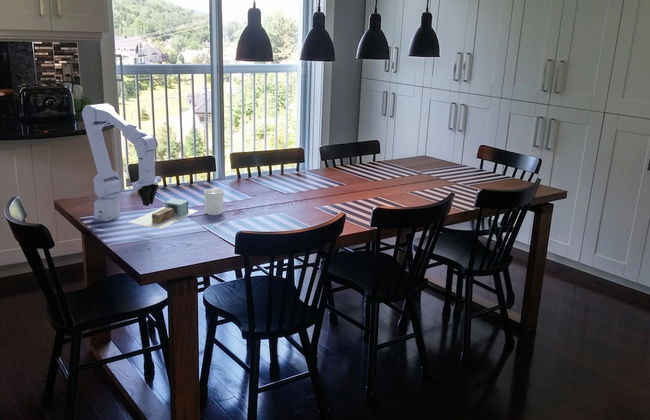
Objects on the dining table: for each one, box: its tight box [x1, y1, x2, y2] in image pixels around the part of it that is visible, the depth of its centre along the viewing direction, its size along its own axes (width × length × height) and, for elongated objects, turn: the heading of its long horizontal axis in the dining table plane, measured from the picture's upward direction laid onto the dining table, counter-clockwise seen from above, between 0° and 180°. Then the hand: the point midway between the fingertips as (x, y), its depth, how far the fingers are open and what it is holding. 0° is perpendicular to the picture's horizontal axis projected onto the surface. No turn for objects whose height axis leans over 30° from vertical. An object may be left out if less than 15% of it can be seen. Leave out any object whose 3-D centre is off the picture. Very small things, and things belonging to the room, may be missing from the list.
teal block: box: [164, 197, 189, 217], centre depth 242 cm, size 6×7×5 cm
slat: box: [152, 207, 174, 224], centre depth 234 cm, size 10×3×4 cm, turn 160°
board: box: [127, 206, 199, 230], centre depth 239 cm, size 26×15×1 cm, turn 160°
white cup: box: [203, 187, 225, 216], centre depth 246 cm, size 8×8×10 cm
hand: (148, 204), depth 224 cm, fingers closed
